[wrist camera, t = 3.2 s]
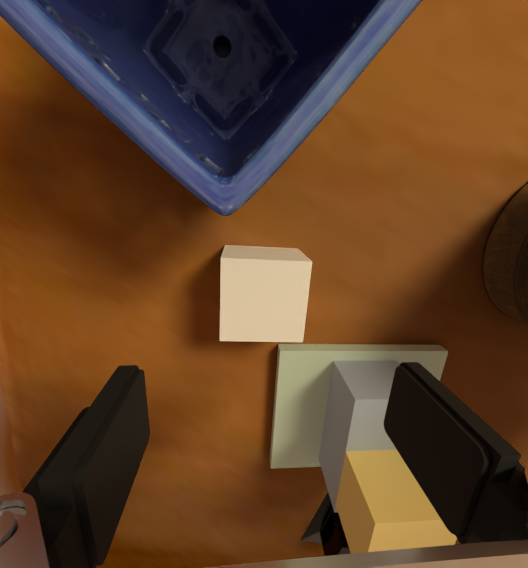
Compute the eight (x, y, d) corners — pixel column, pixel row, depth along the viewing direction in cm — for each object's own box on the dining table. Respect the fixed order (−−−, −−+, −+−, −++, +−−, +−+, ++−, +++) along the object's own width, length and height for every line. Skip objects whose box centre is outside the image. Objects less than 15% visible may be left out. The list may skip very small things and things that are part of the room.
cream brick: (225, 244, 22) (220, 257, 17) (297, 248, 23) (312, 261, 18) (223, 312, 24) (219, 340, 19) (290, 314, 24) (302, 342, 20)
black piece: (338, 547, 36) (351, 596, 32) (288, 540, 35) (294, 590, 30) (380, 482, 33) (401, 527, 28) (326, 472, 31) (339, 517, 27)
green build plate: (278, 344, 25) (280, 350, 24) (439, 344, 26) (448, 351, 25) (269, 457, 29) (270, 468, 28) (409, 453, 31) (415, 463, 30)
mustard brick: (345, 451, 21) (375, 523, 17) (417, 449, 22) (465, 518, 17) (335, 504, 23) (359, 583, 19) (401, 501, 24) (441, 576, 19)
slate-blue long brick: (333, 360, 25) (355, 399, 20) (395, 360, 25) (431, 398, 20) (318, 459, 28) (334, 512, 24) (373, 457, 29) (399, 508, 24)
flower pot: (360, 70, 19) (536, -116, 8) (233, 212, 21) (224, 229, 10) (215, -128, 15) (144, -1027, 4) (81, 67, 18) (-205, -164, 6)
